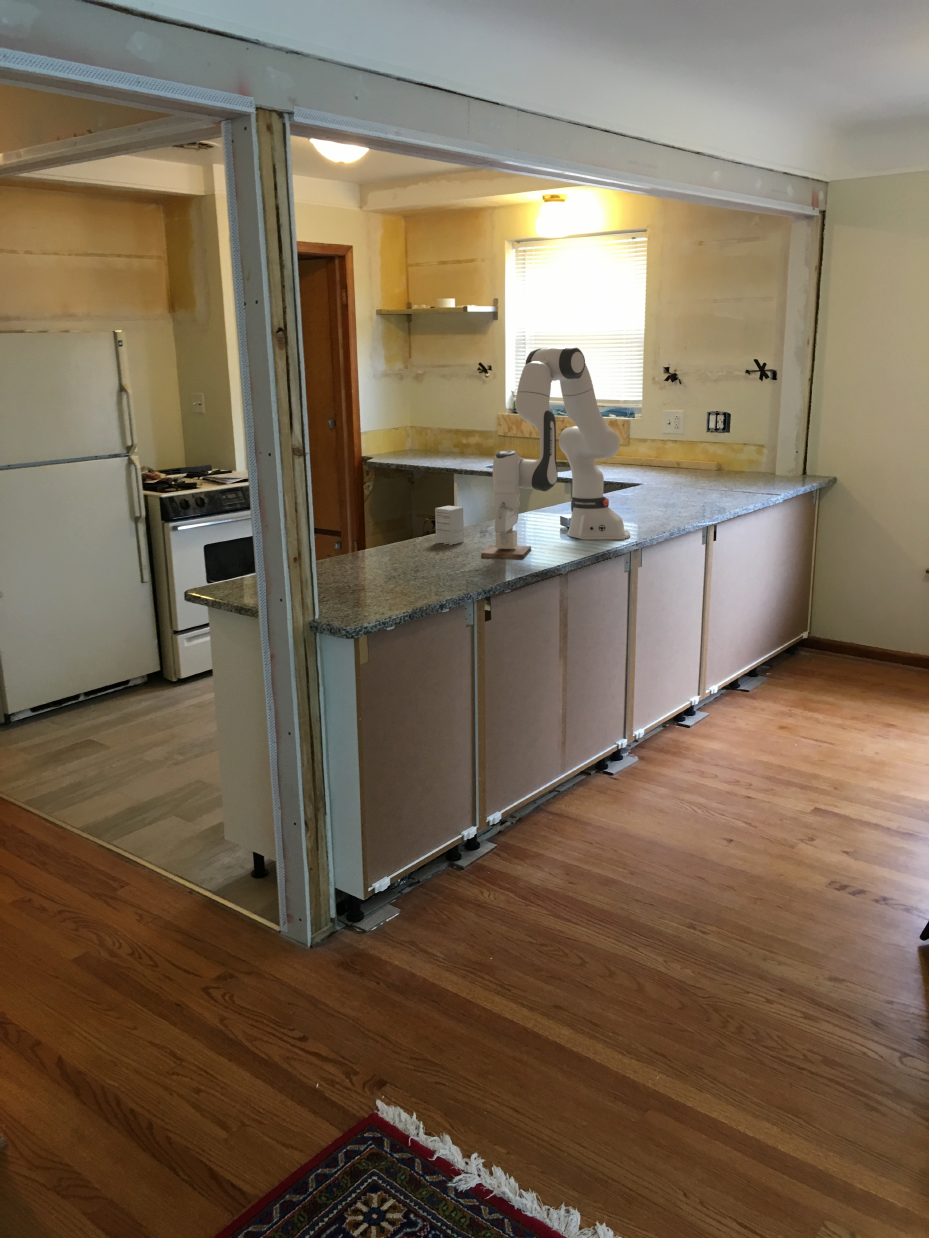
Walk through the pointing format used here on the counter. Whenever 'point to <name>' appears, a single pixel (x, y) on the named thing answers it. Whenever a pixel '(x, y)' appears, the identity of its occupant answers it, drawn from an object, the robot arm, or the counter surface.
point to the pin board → (506, 552)
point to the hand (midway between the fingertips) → (506, 541)
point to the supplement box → (449, 525)
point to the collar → (510, 540)
